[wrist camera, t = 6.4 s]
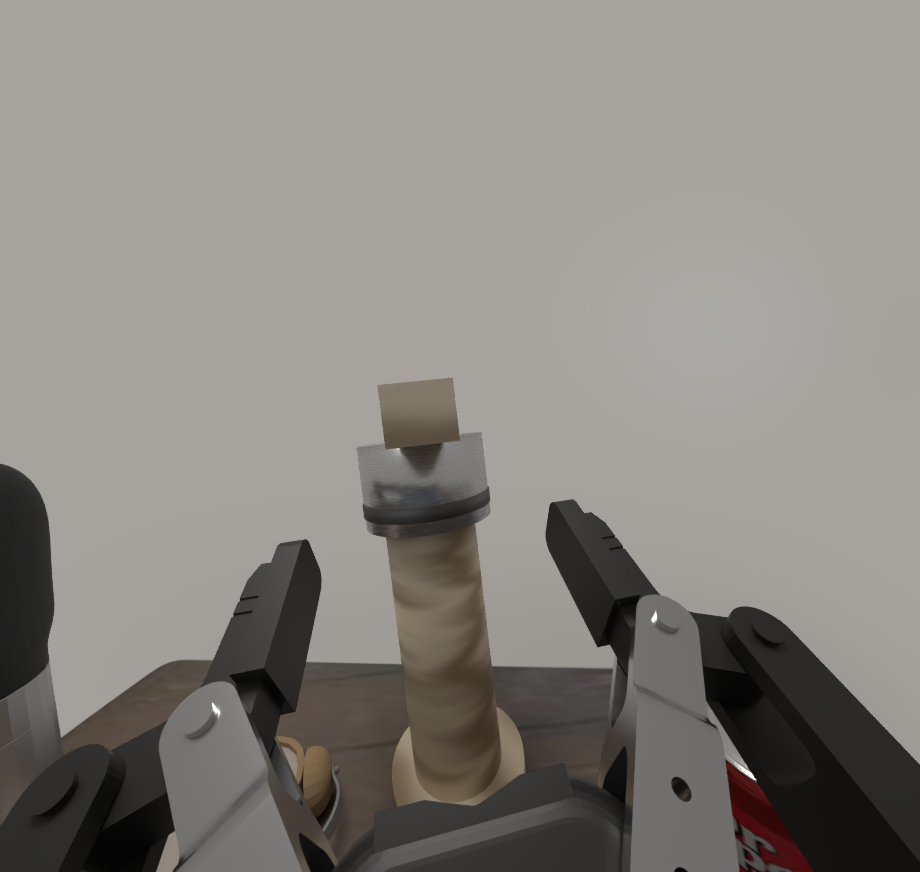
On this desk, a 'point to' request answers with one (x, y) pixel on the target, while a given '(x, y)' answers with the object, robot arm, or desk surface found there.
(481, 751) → the beige tall cylinder
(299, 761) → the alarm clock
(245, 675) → the robot arm
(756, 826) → the soda can
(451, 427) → the plug rod
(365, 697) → the desk surface
